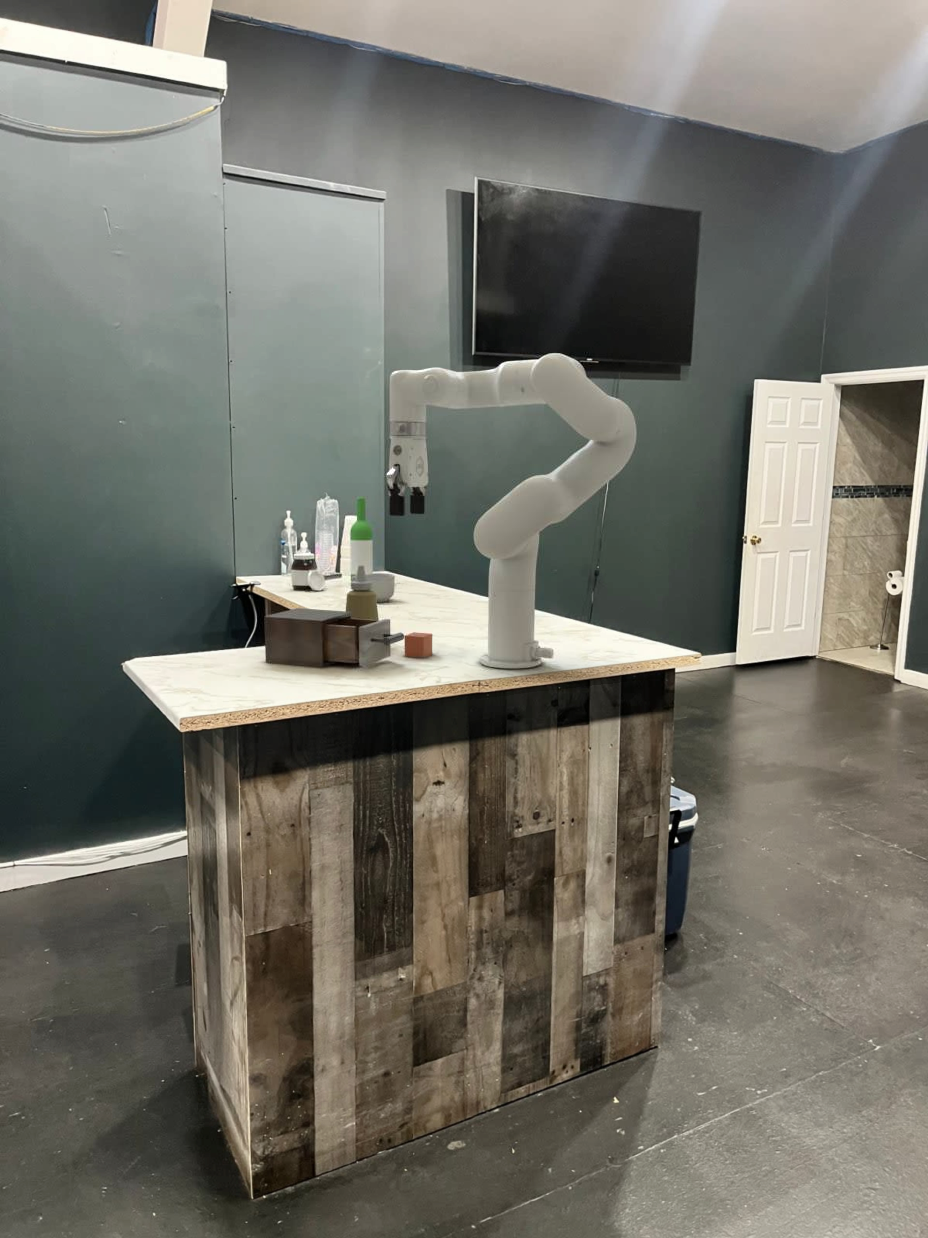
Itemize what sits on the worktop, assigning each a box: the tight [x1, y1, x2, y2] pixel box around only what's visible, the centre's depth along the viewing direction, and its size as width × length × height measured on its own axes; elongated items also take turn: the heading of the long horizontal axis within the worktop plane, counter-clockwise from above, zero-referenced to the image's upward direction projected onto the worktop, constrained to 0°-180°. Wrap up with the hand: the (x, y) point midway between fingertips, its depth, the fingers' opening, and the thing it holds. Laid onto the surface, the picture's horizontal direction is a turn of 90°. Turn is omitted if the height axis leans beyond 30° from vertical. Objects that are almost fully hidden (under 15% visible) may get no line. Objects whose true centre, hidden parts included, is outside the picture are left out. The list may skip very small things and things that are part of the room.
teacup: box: [352, 572, 396, 603], centre depth 281 cm, size 14×11×8 cm
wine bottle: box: [349, 497, 374, 583], centre depth 323 cm, size 8×8×30 cm
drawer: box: [324, 618, 405, 667], centre depth 188 cm, size 17×11×8 cm
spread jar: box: [290, 553, 326, 592], centre depth 307 cm, size 12×11×12 cm
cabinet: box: [263, 607, 353, 668], centre depth 192 cm, size 14×13×10 cm
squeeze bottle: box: [345, 566, 380, 621], centre depth 208 cm, size 8×8×18 cm
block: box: [404, 631, 433, 659], centre depth 198 cm, size 4×4×4 cm
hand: (407, 514), depth 194 cm, fingers open, 9 cm apart
